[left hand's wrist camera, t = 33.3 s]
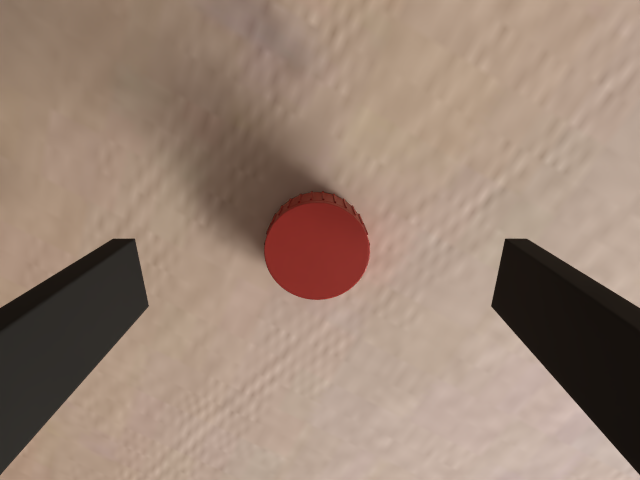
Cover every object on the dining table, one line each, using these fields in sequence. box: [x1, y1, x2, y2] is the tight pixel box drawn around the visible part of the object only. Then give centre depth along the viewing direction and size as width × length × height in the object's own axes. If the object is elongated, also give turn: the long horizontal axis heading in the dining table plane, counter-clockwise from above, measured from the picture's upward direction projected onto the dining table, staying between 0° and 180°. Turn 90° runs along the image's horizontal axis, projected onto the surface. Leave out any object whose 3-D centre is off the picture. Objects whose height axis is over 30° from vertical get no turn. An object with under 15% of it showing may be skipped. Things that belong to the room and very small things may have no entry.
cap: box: [264, 191, 370, 300], centre depth 15 cm, size 4×4×2 cm
